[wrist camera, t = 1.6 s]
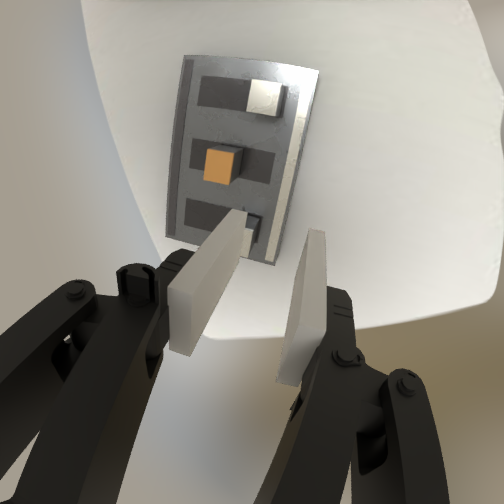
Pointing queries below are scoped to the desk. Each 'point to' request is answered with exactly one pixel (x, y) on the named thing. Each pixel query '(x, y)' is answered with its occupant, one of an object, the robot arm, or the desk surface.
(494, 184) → the desk surface
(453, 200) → the desk surface
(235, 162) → the toggle
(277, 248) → the panel
